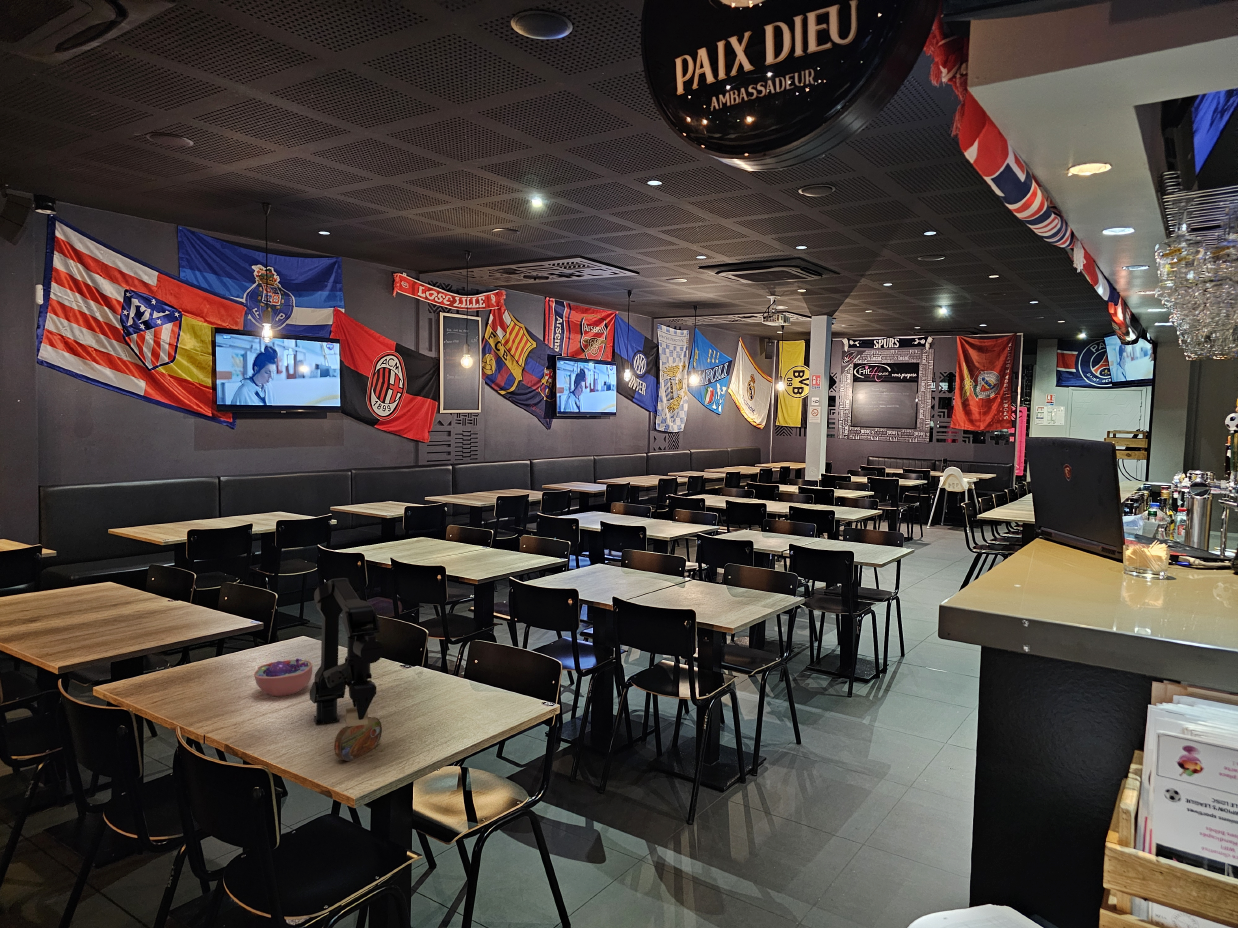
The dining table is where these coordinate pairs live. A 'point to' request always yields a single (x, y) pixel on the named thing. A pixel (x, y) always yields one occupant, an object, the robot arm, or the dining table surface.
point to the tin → (358, 739)
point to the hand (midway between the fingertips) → (358, 713)
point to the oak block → (354, 717)
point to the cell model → (283, 677)
